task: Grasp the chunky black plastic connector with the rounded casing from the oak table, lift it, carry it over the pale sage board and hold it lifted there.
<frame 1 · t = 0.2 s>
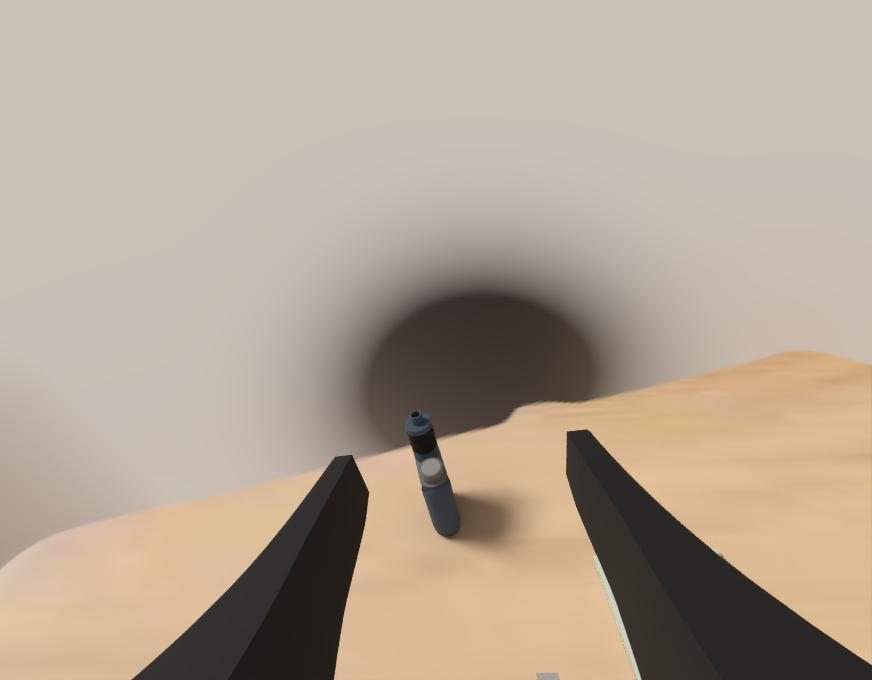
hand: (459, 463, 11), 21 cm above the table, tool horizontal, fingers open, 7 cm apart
vaping device: (444, 514, 33), on the table
board: (713, 677, 20), on the table
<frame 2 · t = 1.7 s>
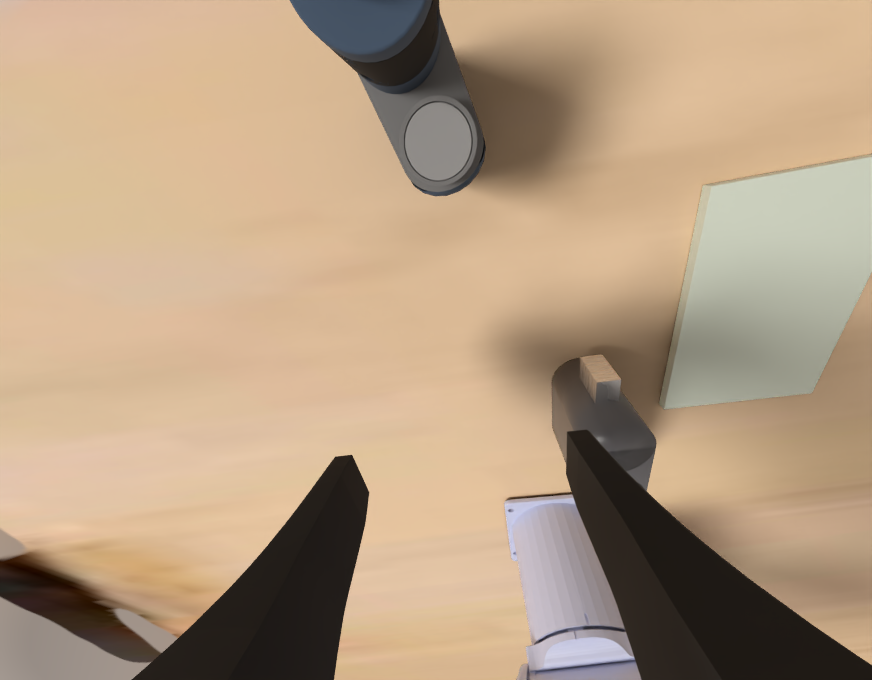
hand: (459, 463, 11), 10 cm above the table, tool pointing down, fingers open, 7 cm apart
connector: (577, 402, 23), on the table
vaping device: (431, 121, 15), on the table
board: (760, 301, 19), on the table
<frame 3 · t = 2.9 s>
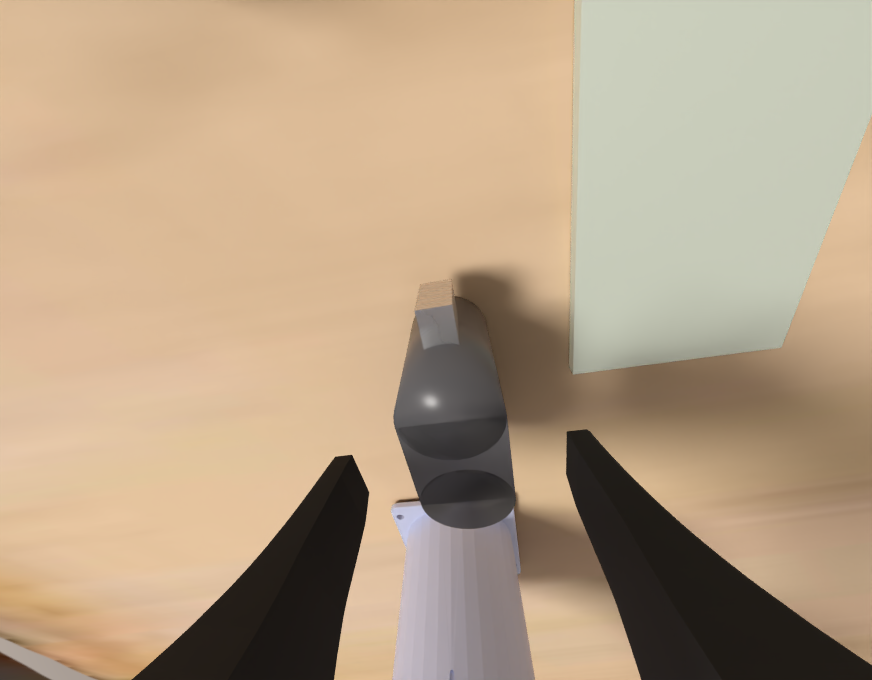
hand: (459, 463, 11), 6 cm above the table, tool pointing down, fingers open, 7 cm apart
connector: (455, 365, 16), on the table
board: (695, 198, 12), on the table
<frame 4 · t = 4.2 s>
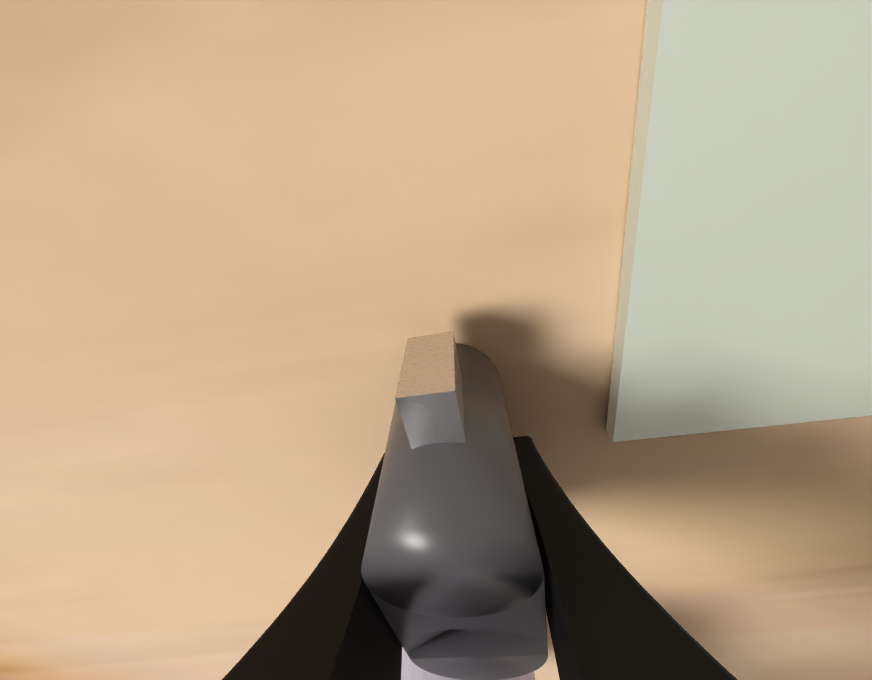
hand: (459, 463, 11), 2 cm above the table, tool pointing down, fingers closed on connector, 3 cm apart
connector: (458, 426, 12), on the table, touching gripper
board: (806, 214, 8), on the table
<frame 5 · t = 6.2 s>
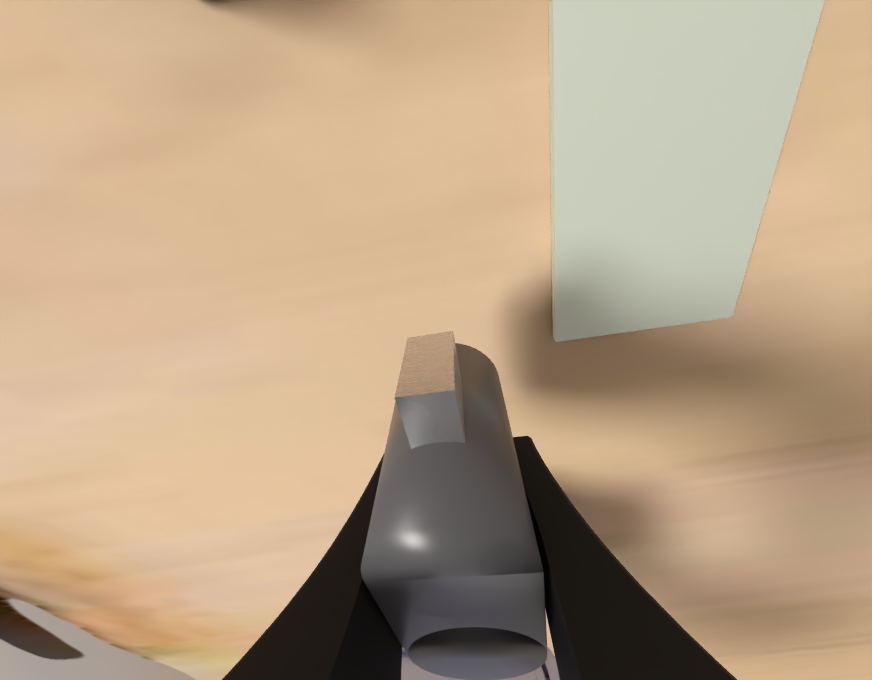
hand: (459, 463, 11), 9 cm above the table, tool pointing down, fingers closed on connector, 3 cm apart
connector: (458, 426, 12), point 7 cm above the table, touching gripper
board: (653, 188, 15), on the table
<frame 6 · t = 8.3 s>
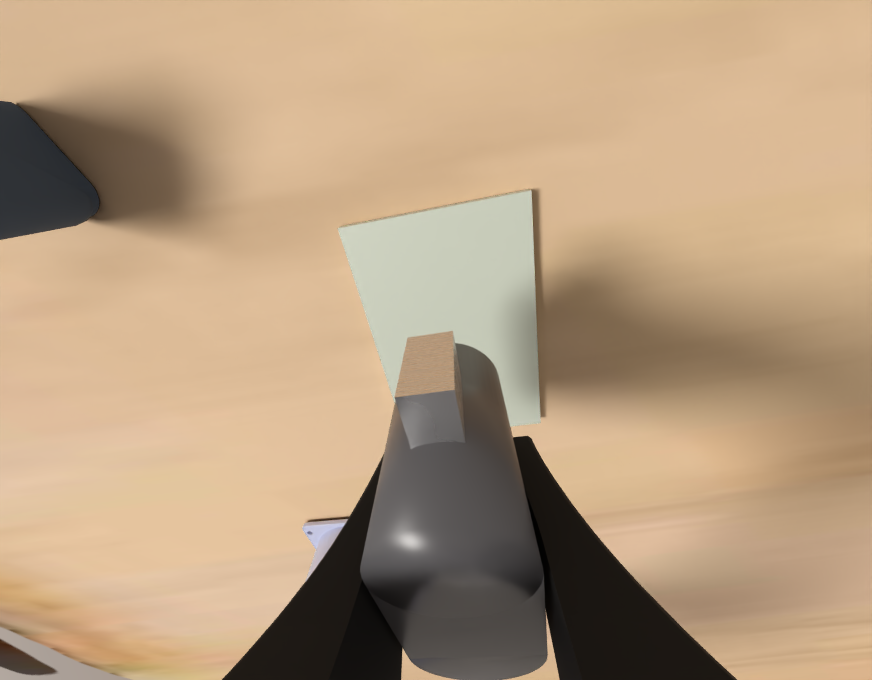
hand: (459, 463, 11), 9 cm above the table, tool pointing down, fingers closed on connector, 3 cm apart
connector: (458, 426, 12), point 7 cm above the table, touching gripper
vaping device: (53, 165, 15), on the table
board: (454, 335, 19), on the table
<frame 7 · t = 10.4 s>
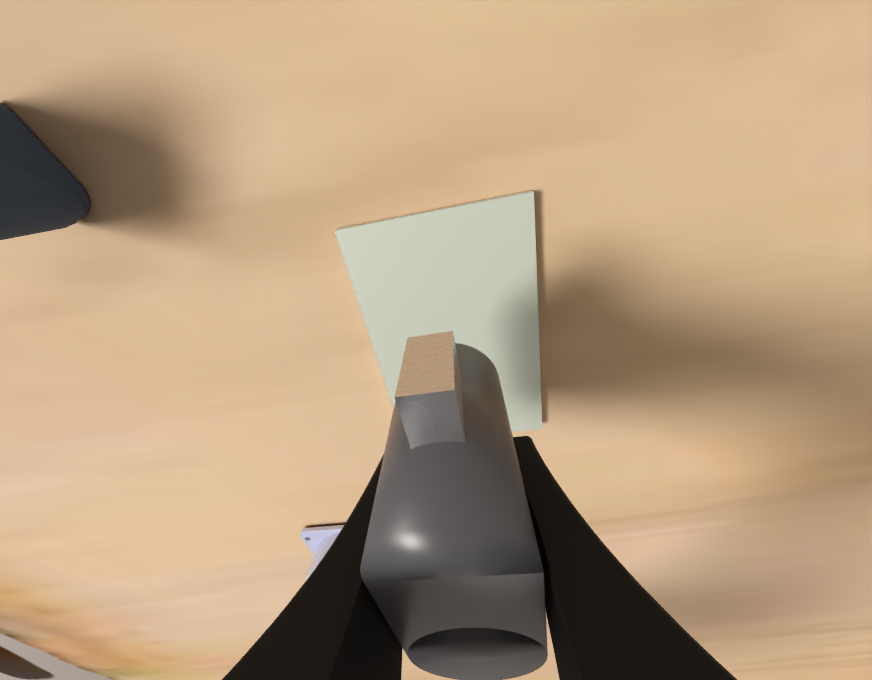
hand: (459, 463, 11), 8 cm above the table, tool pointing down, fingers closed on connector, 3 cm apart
connector: (458, 426, 12), point 7 cm above the table, touching gripper
vaping device: (41, 165, 15), on the table
board: (454, 340, 18), on the table
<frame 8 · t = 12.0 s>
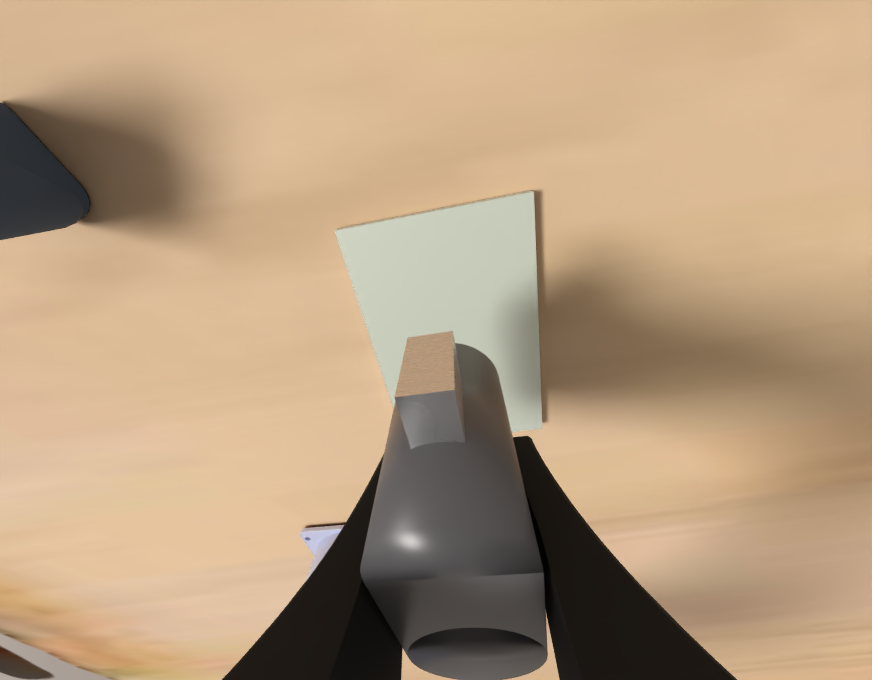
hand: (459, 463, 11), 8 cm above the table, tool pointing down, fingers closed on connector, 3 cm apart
connector: (458, 426, 12), point 7 cm above the table, touching gripper
vaping device: (41, 165, 15), on the table
board: (454, 340, 18), on the table
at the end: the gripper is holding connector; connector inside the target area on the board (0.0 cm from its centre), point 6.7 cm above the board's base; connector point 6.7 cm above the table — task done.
